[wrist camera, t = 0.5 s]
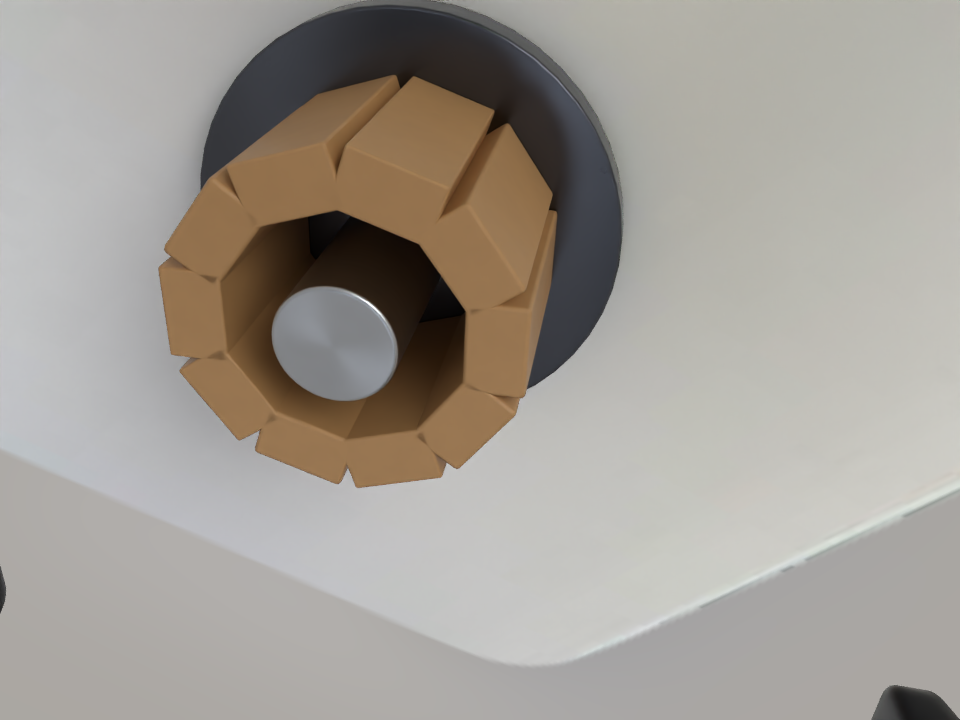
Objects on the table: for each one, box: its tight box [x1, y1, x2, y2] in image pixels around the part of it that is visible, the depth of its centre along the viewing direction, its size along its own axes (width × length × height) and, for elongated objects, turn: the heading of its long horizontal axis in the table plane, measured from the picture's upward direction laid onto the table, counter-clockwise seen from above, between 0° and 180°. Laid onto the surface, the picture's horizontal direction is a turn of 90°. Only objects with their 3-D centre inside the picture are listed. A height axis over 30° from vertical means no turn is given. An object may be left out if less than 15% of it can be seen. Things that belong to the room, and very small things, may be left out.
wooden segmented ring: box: [158, 75, 557, 488], centre depth 19 cm, size 7×7×5 cm
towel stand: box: [201, 0, 623, 401], centre depth 19 cm, size 10×10×6 cm
